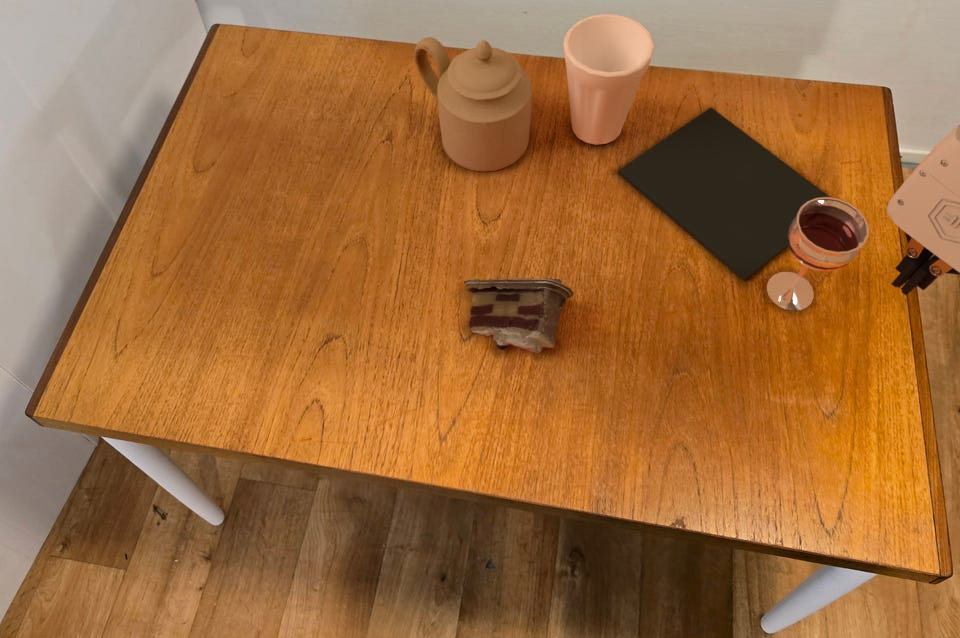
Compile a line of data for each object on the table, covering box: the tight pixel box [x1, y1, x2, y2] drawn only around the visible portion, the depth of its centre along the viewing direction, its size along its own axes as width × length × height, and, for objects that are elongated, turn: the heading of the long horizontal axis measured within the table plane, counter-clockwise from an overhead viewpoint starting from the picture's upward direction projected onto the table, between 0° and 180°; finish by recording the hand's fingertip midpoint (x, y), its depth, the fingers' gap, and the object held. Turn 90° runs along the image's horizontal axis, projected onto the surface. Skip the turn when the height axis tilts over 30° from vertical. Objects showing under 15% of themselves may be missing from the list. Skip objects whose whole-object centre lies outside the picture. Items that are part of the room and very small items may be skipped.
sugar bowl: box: [413, 36, 533, 173], centre depth 87 cm, size 15×11×15 cm
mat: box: [617, 107, 832, 282], centre depth 88 cm, size 20×16×1 cm
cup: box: [563, 13, 656, 146], centre depth 88 cm, size 10×10×13 cm
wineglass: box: [766, 196, 870, 312], centre depth 76 cm, size 7×7×12 cm
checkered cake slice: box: [462, 277, 574, 354], centre depth 78 cm, size 10×7×12 cm
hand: (908, 281), depth 67 cm, fingers closed
